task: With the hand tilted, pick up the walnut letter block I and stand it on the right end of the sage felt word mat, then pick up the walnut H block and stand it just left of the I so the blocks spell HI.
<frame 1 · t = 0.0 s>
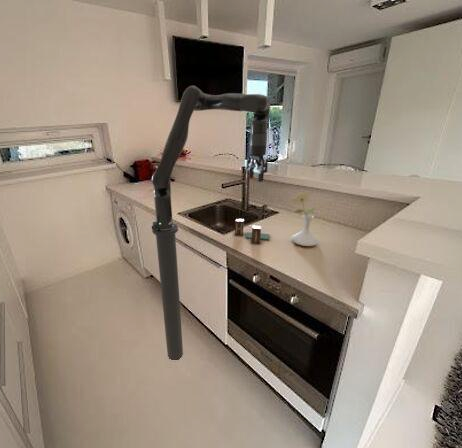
hand: (255, 179, 117), 29 cm above the worktop, tool pointing down, fingers open, 8 cm apart
flower in vase: (302, 243, 117), on the worktop
letter I: (255, 242, 120), on the worktop
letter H: (239, 234, 129), on the worktop
word mat: (257, 236, 125), on the worktop
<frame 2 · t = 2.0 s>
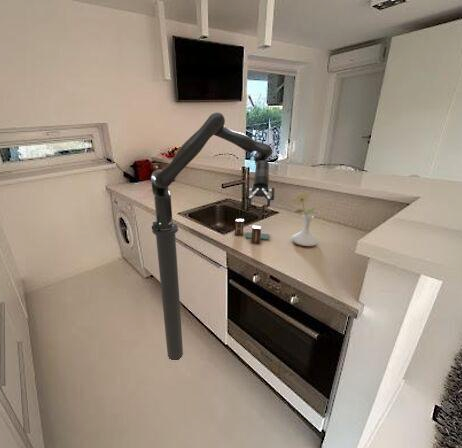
hand: (258, 206, 124), 15 cm above the worktop, tool tilted 45°, fingers open, 8 cm apart
nothing on the worktop moved.
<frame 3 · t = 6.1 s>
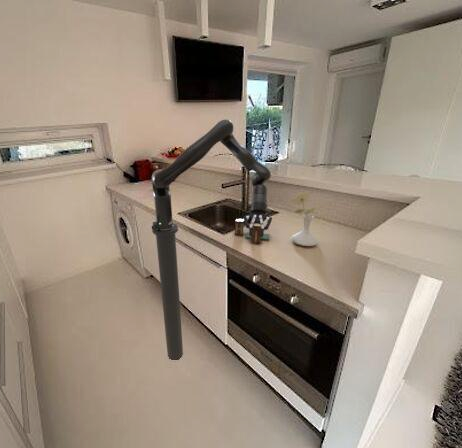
hand: (256, 236, 116), 4 cm above the worktop, tool tilted 45°, fingers closed on letter I, 4 cm apart
letter I: (255, 242, 120), on the worktop, touching gripper
everything else where it was.
when the fingers open (5 cm above the worktop, at t = 13.8 s): letter I stays where it is, resting on word mat.
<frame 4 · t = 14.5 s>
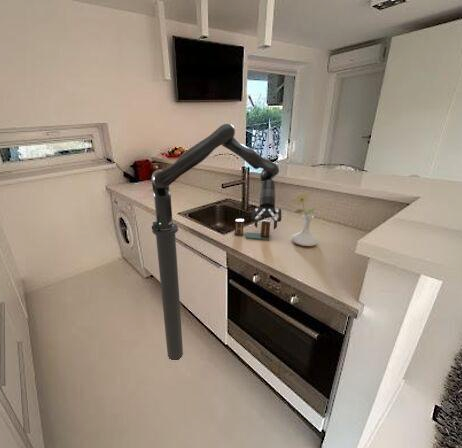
hand: (265, 227, 121), 6 cm above the worktop, tool tilted 45°, fingers open, 8 cm apart
letter I: (264, 236, 124), point 1 cm above the worktop, touching word mat
everything else where it was.
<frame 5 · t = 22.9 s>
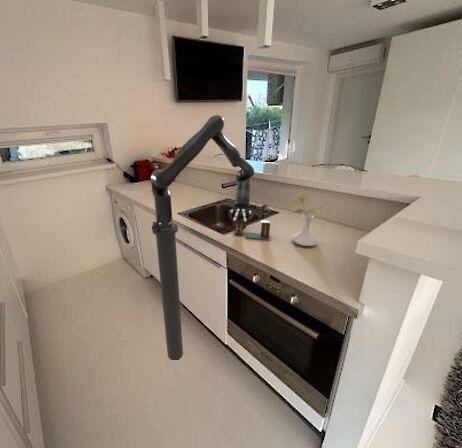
hand: (239, 228, 126), 4 cm above the worktop, tool tilted 45°, fingers closed on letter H, 4 cm apart
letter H: (239, 234, 129), on the worktop, touching gripper
everything else where it was.
when the fingers open (6 cm above the worktop, at t = 32.5 s): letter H drops 1 cm, resting on word mat.
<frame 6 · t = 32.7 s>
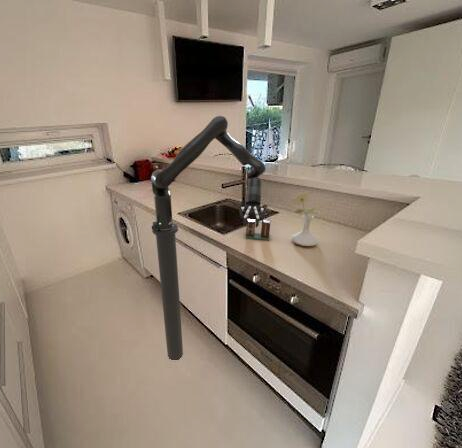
hand: (250, 226, 122), 6 cm above the worktop, tool tilted 45°, fingers open, 4 cm apart
letter I: (264, 236, 124), point 1 cm above the worktop, touching gripper, word mat
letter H: (250, 234, 126), point 1 cm above the worktop, touching word mat
everything else where it was.
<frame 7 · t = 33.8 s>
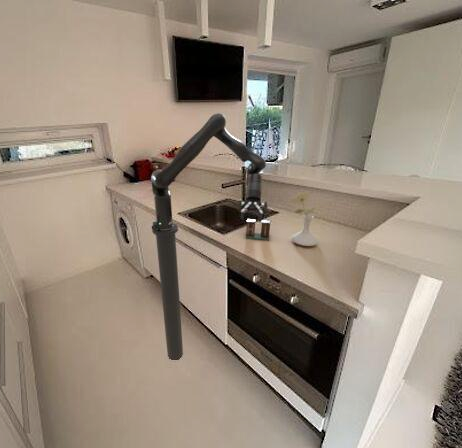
hand: (251, 220, 122), 9 cm above the worktop, tool tilted 45°, fingers open, 8 cm apart
letter I: (264, 236, 124), point 1 cm above the worktop, touching word mat
everything else where it was.
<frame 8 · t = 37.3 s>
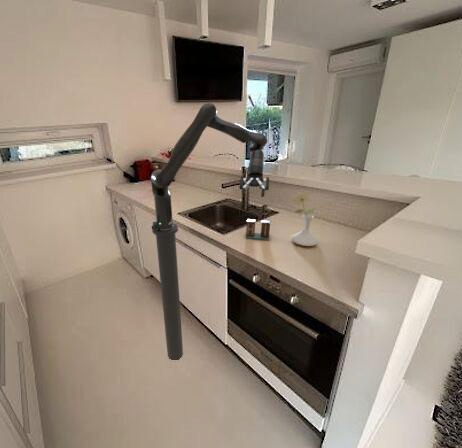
hand: (253, 196, 121), 21 cm above the worktop, tool tilted 45°, fingers open, 8 cm apart
nothing on the worktop moved.
at the end: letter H 0.1 cm from the target spot, point 0.8 cm above the worktop; letter I 0.2 cm from the target spot on the worktop beside the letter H, resting on word mat; the gripper is holding nothing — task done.
